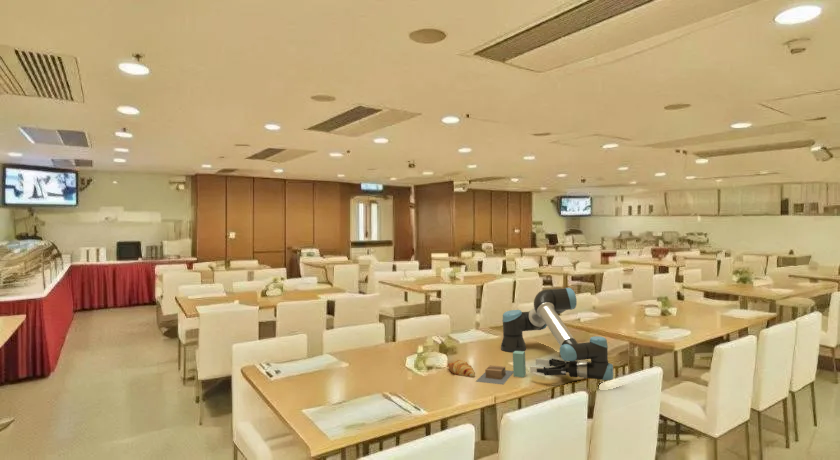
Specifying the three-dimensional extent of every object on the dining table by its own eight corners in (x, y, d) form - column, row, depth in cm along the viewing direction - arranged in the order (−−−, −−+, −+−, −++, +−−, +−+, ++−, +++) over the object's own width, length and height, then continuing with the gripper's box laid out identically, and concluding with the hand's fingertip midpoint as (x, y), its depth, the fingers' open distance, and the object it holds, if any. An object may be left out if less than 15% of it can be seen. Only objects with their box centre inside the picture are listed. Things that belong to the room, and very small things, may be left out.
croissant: (478, 384, 234) (484, 368, 236) (465, 378, 229) (470, 362, 231) (452, 373, 252) (457, 359, 254) (439, 368, 246) (444, 353, 248)
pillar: (516, 374, 236) (515, 350, 236) (525, 375, 234) (524, 351, 234) (513, 377, 231) (512, 353, 231) (523, 378, 229) (522, 354, 229)
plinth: (490, 373, 238) (490, 365, 238) (505, 374, 235) (505, 366, 235) (485, 377, 231) (485, 369, 231) (501, 379, 228) (500, 371, 228)
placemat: (488, 369, 246) (488, 368, 246) (514, 371, 240) (514, 371, 240) (475, 382, 226) (475, 381, 226) (503, 385, 220) (503, 384, 220)
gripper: (575, 385, 209) (528, 380, 218) (581, 369, 231) (538, 365, 240) (574, 368, 209) (527, 364, 218) (580, 354, 231) (537, 351, 240)
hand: (533, 365), depth 229 cm, fingers open, 13 cm apart
